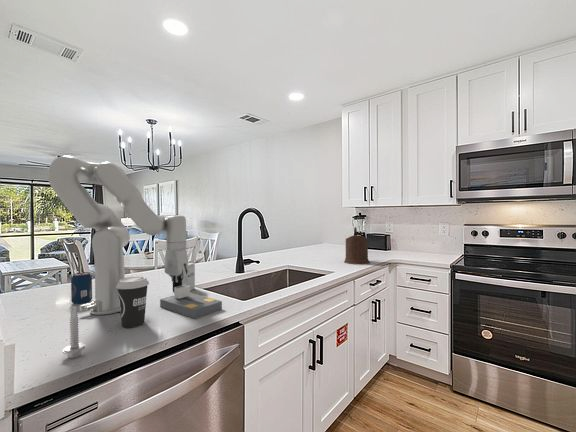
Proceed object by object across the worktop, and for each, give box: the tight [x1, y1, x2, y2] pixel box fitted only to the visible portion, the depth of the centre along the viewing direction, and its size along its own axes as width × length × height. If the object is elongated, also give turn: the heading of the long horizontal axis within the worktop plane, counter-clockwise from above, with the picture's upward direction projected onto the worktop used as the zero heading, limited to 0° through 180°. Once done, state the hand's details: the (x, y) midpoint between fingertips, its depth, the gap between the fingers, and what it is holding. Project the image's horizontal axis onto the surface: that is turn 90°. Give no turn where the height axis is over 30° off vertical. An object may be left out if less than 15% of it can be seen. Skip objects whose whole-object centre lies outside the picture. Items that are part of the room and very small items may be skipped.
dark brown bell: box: [343, 226, 370, 266], centre depth 208 cm, size 18×24×25 cm
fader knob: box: [173, 285, 191, 299], centre depth 111 cm, size 5×3×4 cm, turn 145°
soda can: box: [70, 271, 93, 306], centre depth 116 cm, size 7×7×12 cm
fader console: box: [159, 292, 223, 320], centre depth 108 cm, size 12×22×3 cm, turn 54°
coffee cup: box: [116, 275, 150, 329], centre depth 93 cm, size 10×10×15 cm
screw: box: [62, 305, 87, 359], centre depth 72 cm, size 13×5×5 cm
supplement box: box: [182, 262, 196, 291], centre depth 133 cm, size 7×7×13 cm
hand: (177, 291), depth 113 cm, fingers closed
